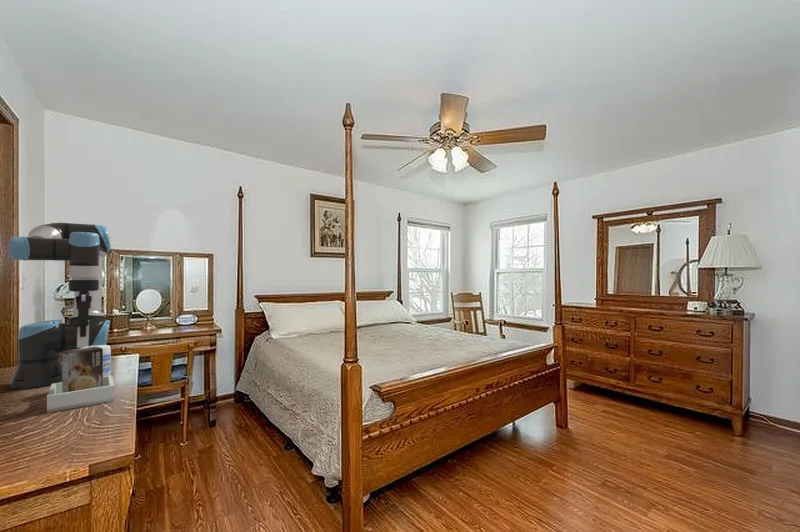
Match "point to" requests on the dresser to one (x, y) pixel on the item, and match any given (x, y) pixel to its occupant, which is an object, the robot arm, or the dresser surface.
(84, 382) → the coffee box
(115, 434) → the dresser surface
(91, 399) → the tote
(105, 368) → the supplement tub
